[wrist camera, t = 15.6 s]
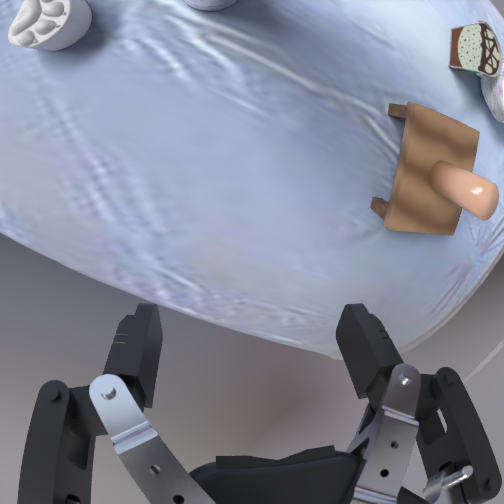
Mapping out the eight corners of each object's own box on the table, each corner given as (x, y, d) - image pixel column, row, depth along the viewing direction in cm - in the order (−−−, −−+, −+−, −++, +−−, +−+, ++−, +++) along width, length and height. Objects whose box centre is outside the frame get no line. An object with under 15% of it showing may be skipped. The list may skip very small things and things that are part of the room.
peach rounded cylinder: (433, 156, 33) (483, 178, 24) (455, 164, 34) (502, 186, 24) (425, 189, 36) (471, 217, 26) (447, 194, 36) (491, 222, 27)
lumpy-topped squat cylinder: (53, -5, 19) (27, -16, 12) (105, 2, 23) (81, -13, 16) (26, 45, 23) (-4, 43, 16) (73, 57, 28) (44, 52, 20)
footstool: (387, 100, 36) (415, 103, 29) (451, 123, 38) (479, 132, 31) (367, 210, 46) (389, 230, 39) (430, 217, 48) (453, 235, 41)
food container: (466, 85, 33) (502, 91, 25) (447, 72, 32) (484, 75, 24) (470, 37, 27) (504, 37, 19) (450, 23, 26) (485, 19, 18)
